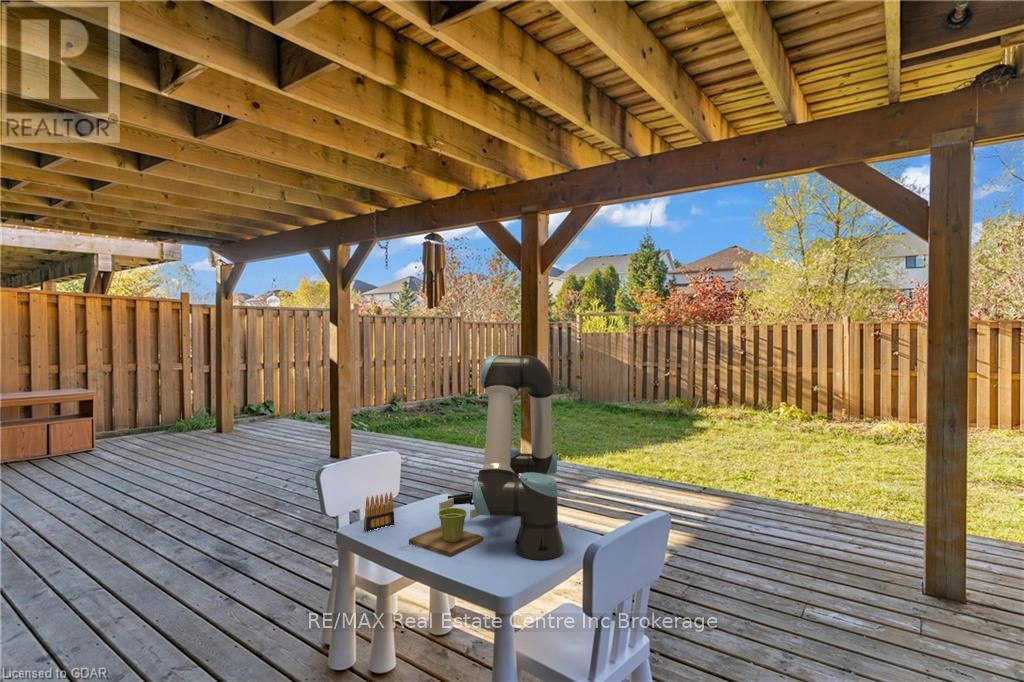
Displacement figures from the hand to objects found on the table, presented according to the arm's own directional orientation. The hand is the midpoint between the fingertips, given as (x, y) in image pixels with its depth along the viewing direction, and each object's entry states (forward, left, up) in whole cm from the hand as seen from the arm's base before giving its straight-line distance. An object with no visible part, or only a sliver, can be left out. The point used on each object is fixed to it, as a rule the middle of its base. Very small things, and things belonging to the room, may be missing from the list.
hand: (454, 510), depth 173 cm
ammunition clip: (+28, +9, -9) cm, 30 cm away
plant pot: (-3, +4, -8) cm, 9 cm away
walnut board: (0, +5, -9) cm, 10 cm away
